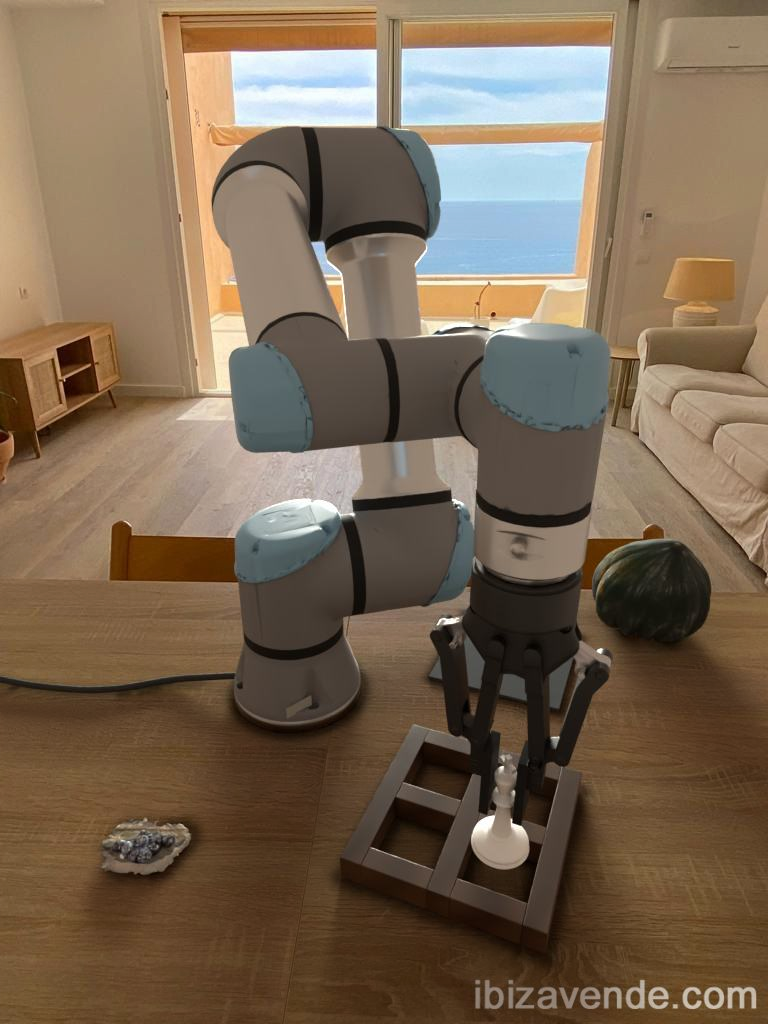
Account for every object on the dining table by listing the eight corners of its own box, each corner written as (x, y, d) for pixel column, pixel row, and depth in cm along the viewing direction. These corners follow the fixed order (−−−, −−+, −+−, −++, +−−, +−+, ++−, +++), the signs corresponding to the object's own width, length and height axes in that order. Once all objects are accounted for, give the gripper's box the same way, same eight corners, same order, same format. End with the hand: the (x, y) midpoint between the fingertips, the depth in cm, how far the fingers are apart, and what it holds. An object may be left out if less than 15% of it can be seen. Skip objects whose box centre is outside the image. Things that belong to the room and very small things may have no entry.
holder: (340, 877, 61) (339, 857, 60) (412, 741, 76) (412, 724, 75) (545, 954, 55) (547, 934, 54) (579, 790, 70) (582, 771, 69)
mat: (428, 678, 86) (428, 676, 86) (465, 613, 100) (465, 610, 100) (558, 711, 81) (559, 709, 80) (579, 637, 94) (579, 635, 94)
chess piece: (493, 879, 57) (501, 789, 52) (460, 833, 61) (465, 747, 56) (541, 854, 59) (553, 766, 54) (505, 812, 63) (514, 727, 58)
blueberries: (101, 831, 66) (97, 816, 65) (187, 806, 69) (184, 792, 68) (102, 891, 60) (98, 876, 59) (196, 862, 63) (193, 847, 62)
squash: (586, 554, 104) (608, 514, 90) (690, 565, 102) (729, 526, 88) (584, 648, 98) (606, 621, 85) (694, 661, 96) (735, 635, 83)
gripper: (404, 563, 47) (402, 812, 57) (639, 611, 42) (590, 876, 52) (439, 518, 53) (432, 750, 63) (647, 555, 48) (603, 801, 58)
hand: (503, 806), depth 58 cm, fingers closed on chess piece, 2 cm apart
